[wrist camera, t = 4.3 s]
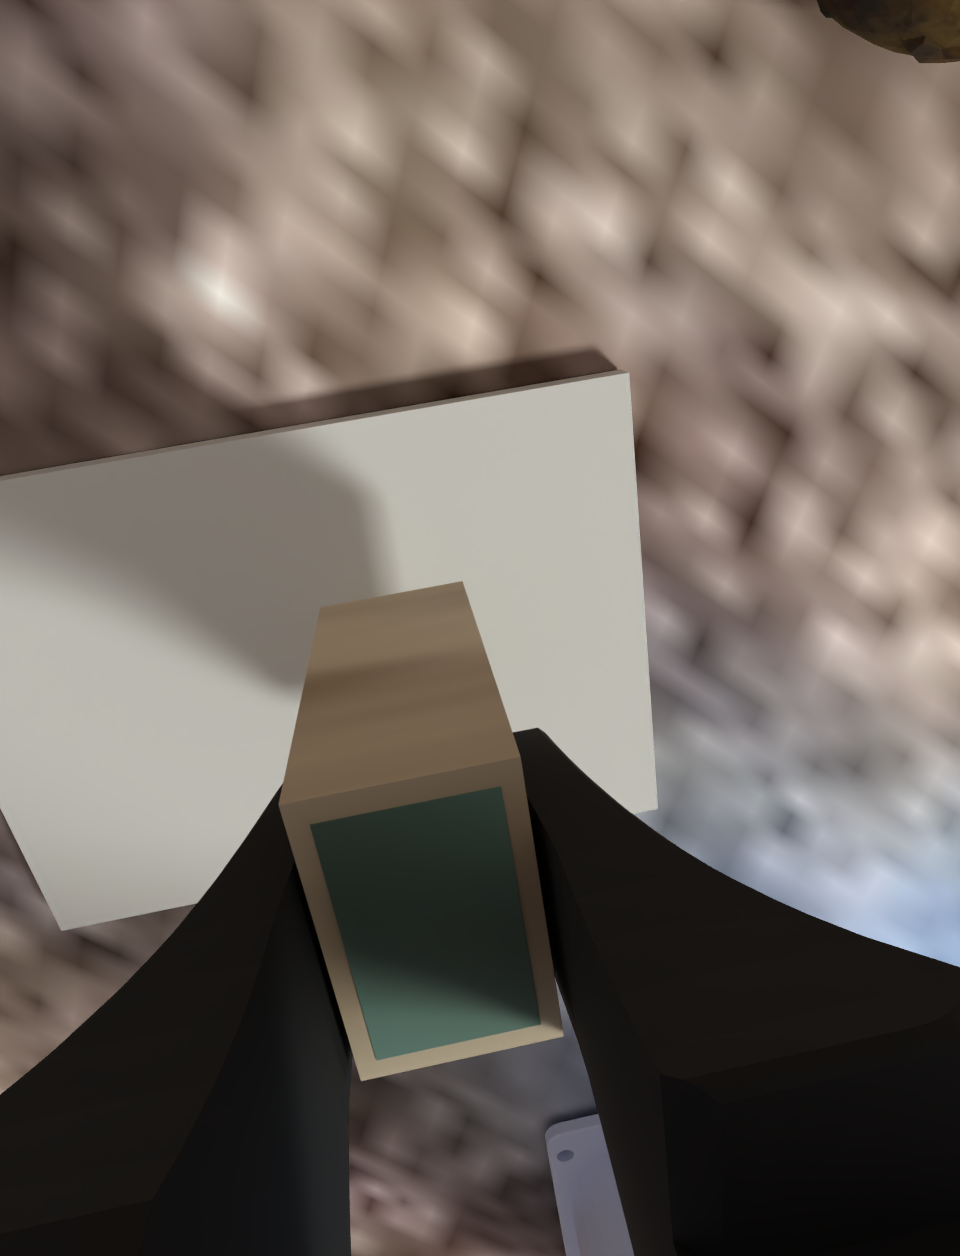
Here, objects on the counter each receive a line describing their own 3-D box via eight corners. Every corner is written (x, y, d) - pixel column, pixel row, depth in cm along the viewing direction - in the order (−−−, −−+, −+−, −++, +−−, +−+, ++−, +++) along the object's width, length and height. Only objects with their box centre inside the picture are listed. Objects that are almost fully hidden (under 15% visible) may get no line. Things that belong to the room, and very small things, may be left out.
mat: (649, 793, 19) (657, 808, 18) (70, 911, 18) (61, 931, 18) (619, 369, 15) (629, 372, 14) (-130, 498, 14) (-150, 506, 14)
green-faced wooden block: (495, 774, 15) (564, 1037, 9) (367, 800, 15) (360, 1083, 9) (462, 581, 14) (520, 758, 8) (320, 607, 13) (277, 805, 8)
